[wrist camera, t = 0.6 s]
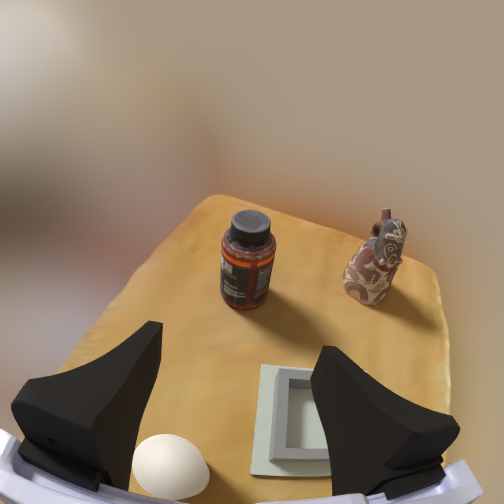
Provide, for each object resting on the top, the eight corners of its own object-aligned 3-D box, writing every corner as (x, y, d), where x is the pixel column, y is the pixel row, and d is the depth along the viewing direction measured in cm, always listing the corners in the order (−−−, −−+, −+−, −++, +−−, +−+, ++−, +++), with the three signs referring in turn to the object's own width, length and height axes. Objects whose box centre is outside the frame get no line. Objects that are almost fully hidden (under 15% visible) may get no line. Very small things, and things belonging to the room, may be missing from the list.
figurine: (347, 305, 37) (382, 234, 29) (336, 267, 42) (361, 199, 34) (391, 304, 37) (430, 239, 29) (376, 269, 43) (406, 205, 35)
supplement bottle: (270, 281, 39) (285, 211, 31) (260, 316, 34) (276, 245, 27) (227, 271, 39) (232, 199, 32) (213, 304, 35) (214, 230, 27)
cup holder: (370, 472, 20) (385, 468, 18) (249, 474, 20) (253, 472, 18) (364, 373, 29) (376, 360, 27) (260, 366, 29) (264, 353, 27)
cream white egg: (206, 501, 18) (200, 507, 12) (151, 489, 18) (126, 488, 12) (213, 455, 21) (210, 442, 16) (160, 444, 21) (140, 426, 16)
